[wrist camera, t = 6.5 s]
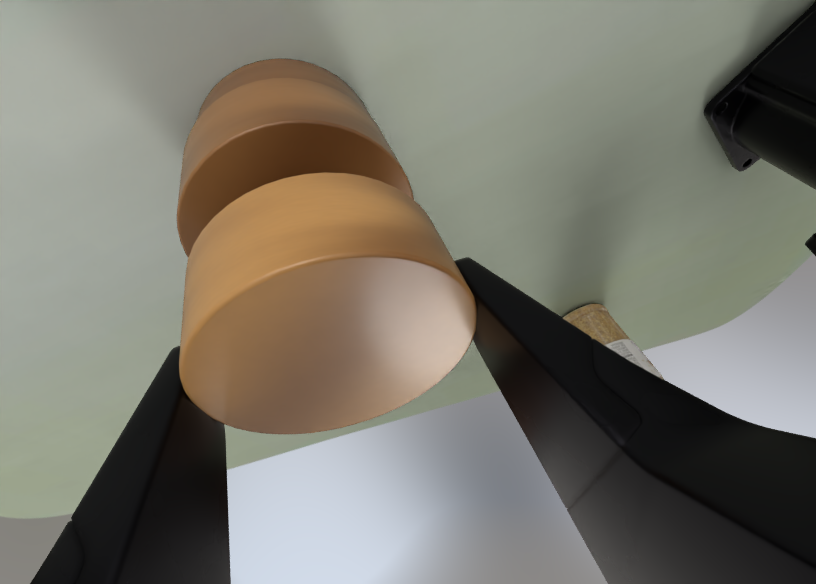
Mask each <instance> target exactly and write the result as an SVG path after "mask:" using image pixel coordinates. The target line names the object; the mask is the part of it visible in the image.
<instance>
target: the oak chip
mask: <svg viewBox="0 0 816 584" xmlns="http://www.w3.org/2000/svg"><path fill="white" fill-rule="evenodd" d="M476 319H477V308H476V302H475V299H474V296H473V294H472V292H471V290H470V288H469V287H468V285H467V283H466V281H465V280H464V278H463V276H462V274H461V273H460V271H459V269H458V267H457V265H456V264H455V262H454V260H453V258H452V257H451V255H450V253H449V251H448V250H447V248H446V246H445V244H444V242H443V241H442V239H441V237H440V235H439V234H438V232H437V230H436V228H435V227H434V225H433V223H432V221H431V219H430V218H429V216H428V215H427V213H426V212H425V211H424V210H423V209H422V207H421V206H420V205H419V204H418V203H417V202H415V201H414V200H413V199H412V198H411V197H410V196H408V195H407V194H405V193H404V192H402V191H400V190H399V189H397V188H395V187H393V186H391V185H388V184H386V183H384V182H382V181H379V180H375V179H372V178H368V177H365V176H360V175H354V174H347V173H328V172H323V173H312V174H302V175H298V176H293V177H288V178H283V179H280V180H277V181H274V182H271V183H268V184H265V185H263V186H260V187H258V188H256V189H254V190H252V191H250V192H248V193H246V194H244V195H242V196H241V197H239V198H238V199H236V200H235V201H233V202H232V203H230V204H229V205H227V206H226V207H225V208H224V209H223V210H222V211H220V212H219V213H218V214H217V215H216V216H215V217H214V218H213V219H212V220H211V221H210V222H209V223H208V224H207V226H206V227H205V228H204V229H203V230H202V232H201V233H200V235H199V237H198V238H197V240H196V242H195V243H194V245H193V248H192V250H191V253H190V255H189V258H188V263H187V269H186V278H185V291H184V304H183V317H182V330H181V344H180V357H179V373H180V379H181V382H182V385H183V388H184V390H185V392H186V394H187V395H188V397H189V398H190V400H191V401H192V402H193V403H194V404H195V405H196V406H197V407H199V408H200V409H201V410H202V411H203V412H205V413H206V414H207V415H208V416H210V417H211V418H213V419H215V420H217V421H219V422H221V423H223V424H226V425H228V426H231V427H234V428H238V429H242V430H246V431H251V432H258V433H266V434H303V433H314V432H321V431H327V430H332V429H337V428H342V427H346V426H350V425H354V424H357V423H360V422H364V421H367V420H370V419H373V418H375V417H378V416H380V415H383V414H385V413H388V412H390V411H392V410H394V409H397V408H399V407H401V406H402V405H404V404H406V403H408V402H410V401H412V400H413V399H415V398H417V397H418V396H420V395H422V394H423V393H425V392H426V391H428V390H429V389H430V388H432V387H433V386H434V385H436V384H437V383H438V382H439V381H441V380H442V379H443V378H444V377H445V376H446V375H447V374H448V373H449V372H450V371H451V370H452V369H453V368H454V367H455V366H456V365H457V364H458V362H459V361H460V360H461V359H462V357H463V356H464V354H465V353H466V351H467V350H468V348H469V346H470V344H471V342H472V340H473V337H474V334H475V331H476Z"/></svg>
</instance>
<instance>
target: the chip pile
mask: <svg viewBox="0 0 816 584" xmlns="http://www.w3.org/2000/svg"><path fill="white" fill-rule="evenodd" d="M323 172H328V173H347V174H354V175H360V176H365V177H368V178H372V179H375V180H379V181H382V182H384V183H386V184H388V185H391V186H393V187H395V188H397V189H399V190H400V191H402V192H404V193H405V194H407V195H408V196H410V197H411V198H412V199H413V200H414V198H413V193H412V189H411V186H410V183H409V181H408V178H407V176H406V174H405V172H404V171H403V169H402V167H401V165H400V164H399V162H398V160H397V158H396V157H395V155H394V153H393V151H392V150H391V148H390V146H389V144H388V143H387V141H386V139H385V138H384V136H383V134H382V132H381V131H380V129H379V127H378V125H377V124H376V123H375V121H374V120H373V119H372V117H371V116H370V115H369V113H368V111H367V109H366V108H365V106H364V104H363V102H362V101H361V99H360V98H359V97H358V96H357V94H356V93H355V92H354V91H353V90H352V89H351V88H350V87H349V86H348V85H347V84H346V83H345V82H344V81H343V80H341V79H340V78H339V77H337V76H336V75H334V74H333V73H331V72H329V71H327V70H326V69H323V68H321V67H319V66H316V65H314V64H311V63H307V62H303V61H299V60H292V59H269V60H263V61H257V62H254V63H251V64H248V65H245V66H243V67H241V68H239V69H237V70H235V71H233V72H232V73H230V74H229V75H227V76H226V77H224V78H223V79H222V80H221V81H220V82H219V83H218V84H217V85H216V86H215V87H214V88H213V89H212V90H211V92H210V93H209V94H208V96H207V97H206V99H205V101H204V103H203V105H202V107H201V108H200V112H199V115H198V118H197V121H196V123H195V124H194V126H193V128H192V130H191V132H190V134H189V136H188V139H187V142H186V145H185V148H184V154H183V162H182V171H181V180H180V190H179V199H178V208H177V228H178V233H179V237H180V241H181V244H182V246H183V248H184V251H185V253H186V255H187V256H188V258H189V255H190V253H191V250H192V248H193V245H194V243H195V242H196V240H197V238H198V237H199V235H200V233H201V232H202V230H203V229H204V228H205V227H206V226H207V224H208V223H209V222H210V221H211V220H212V219H213V218H214V217H215V216H216V215H217V214H218V213H219V212H220V211H222V210H223V209H224V208H225V207H226V206H227V205H229V204H230V203H232V202H233V201H235V200H236V199H238V198H239V197H241V196H242V195H244V194H246V193H248V192H250V191H252V190H254V189H256V188H258V187H260V186H263V185H265V184H268V183H271V182H274V181H277V180H280V179H283V178H288V177H293V176H298V175H302V174H312V173H323Z"/></svg>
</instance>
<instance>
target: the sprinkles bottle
mask: <svg viewBox="0 0 816 584" xmlns="http://www.w3.org/2000/svg"><path fill="white" fill-rule="evenodd" d="M563 319H565V320H566V321H568V322H569V323H571V324H572V325H574V326H576V327H577V328H579V329H580V330H582V331H583V332H585V333H586V334H588V335H589V336H591V338H592V339H596V340H597V341H599V342H600V343H602V344H603V345H605V346H607V347H608V348H610V349H611V350H613V351H615V352H616V353H618V354H619V355H621V356H623V357H624V358H626V359H627V360H629V361H631V362H632V363H634V364H636V365H638V366H640V367H641V368H643V369H645V370H647V371H649V372H650V373H652V374H654V375H656V376H658V377H659V378H661V379H663V377H662V375H661V374H660V373H659V372H658V370H657V369H656V368H655V367H654V366H653V364H652V363H651V362H650V361H649V360H648V358H647V357H646V356H645V355H644V354H643V352H642V351H641V350H640V349H639V348H638V346H637V345H636V344H635V343H634V342H633V341H632V340H630V339H629V337H628V336H627V335H626V334H625V333H624V331H623V330H622V329H621V328H620V326H619V325H618V324H617V323H616V322H615V321H614V319H613V318H612V317H611V316H610V314H609V312H608V310H607V309H606V307H604V306H603V305H601V304H589V305H586V306H583V307H581V308H578V309H576V310H574V311H572V312H570V313H569V314H567V315H566V316H564V317H563ZM663 380H664V379H663Z"/></svg>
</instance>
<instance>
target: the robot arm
mask: <svg viewBox="0 0 816 584" xmlns="http://www.w3.org/2000/svg"><path fill="white" fill-rule="evenodd" d="M704 115H705V117H706V119H707V121H708V123H709V124H710V126H711V128H712V130H713V132H714V134H715V136H716V137H717V139H718V141H719V143H720V145H721V147H722V148H723V150H724V152H725V154H726V156H727V158H728V160H729V161H730V163H731V165H732V167H734V168H735V169H737V170H738V171H744V170H746V169H747V168H749V167H750V166H751V165H753V164H754V163H755V162H756V161H757V160H759V159H760V158H762V159H764V160H765V161H767V162H769V163H770V164H772V165H774V166H776V167H777V168H779V169H781V170H783V171H784V172H786V173H788V174H790V175H791V176H793V177H795V178H797V179H798V180H800V181H802V182H804V183H805V184H807V185H809V186H810V187H812V188H814V189H816V2H815V3H814V4H813V5H812V6H811V7H810V8H809V9H808V10H807V11H806V12H805V13H804V14H803V15H802V16H800V17H799V18H798V19H797V20H796V21H795V22H794V23H793V24H792V25H791V26H790V27H789V28H788V29H787V30H785V31H784V32H783V33H782V34H781V35H780V36H779V37H778V38H777V39H776V40H775V41H774V42H773V43H772V44H771V45H769V46H768V47H767V48H766V49H765V50H764V51H763V52H762V53H761V54H760V55H759V56H758V57H757V58H756V59H754V60H753V61H752V62H751V63H750V64H749V65H748V66H747V67H746V68H745V69H744V70H743V71H742V72H741V73H740V74H738V75H737V76H736V77H735V78H734V79H733V80H732V81H731V82H730V83H729V84H728V85H727V86H726V87H725V88H724V89H722V90H721V91H720V92H719V93H718V94H717V95H716V96H715V97H714V98H713V99H712V100H711V101H710V102H709V103H708V104H707V106H706V108H705V110H704ZM805 245H806V246H807V247H808V248H809V249H810V250H811V252H812V253H813V254H814V255H815V256H816V233H815V234H813V235H812V236H811V237H810V238H809V239H808V240H807V241H806V243H805ZM454 262H455V264H456V265H457V267H458V269H459V271H460V273H461V274H462V276H463V278H464V280H465V281H466V283H467V285H468V287H469V288H470V290H471V292H472V294H473V296H474V299H475V302H476V308H477V319H476V331H475V334H474V337H473V340H474V343H475V345H476V347H477V349H478V351H479V353H480V355H481V356H482V358H483V360H484V362H485V364H486V365H487V367H488V369H489V371H490V373H491V374H492V376H493V378H494V380H495V381H496V383H497V385H498V387H499V389H500V390H501V392H502V394H503V396H504V398H505V399H506V401H507V403H508V405H509V407H510V408H511V410H512V412H513V414H514V416H515V417H516V419H517V421H518V422H519V424H520V426H521V428H522V430H523V432H524V433H525V435H526V437H527V439H528V441H529V442H530V444H531V446H532V448H533V450H534V451H535V453H536V455H537V457H538V459H539V460H540V462H541V464H542V466H543V468H544V469H545V471H546V473H547V475H548V476H549V478H550V480H551V482H552V484H553V485H554V487H555V489H556V491H557V493H558V494H559V496H560V498H561V500H562V502H563V503H564V505H565V507H566V508H568V509H567V511H568V512H569V514H570V516H571V518H572V520H573V521H574V523H575V525H576V527H577V529H578V531H579V532H580V534H581V536H582V538H583V540H584V541H585V543H586V545H587V547H588V549H589V550H590V552H591V554H592V556H593V558H594V559H595V561H596V563H597V565H598V566H599V568H600V570H601V572H602V574H603V575H604V577H605V579H606V581H607V582H608V584H816V438H811V437H807V436H802V435H798V434H793V433H789V432H784V431H779V430H775V429H771V428H766V427H763V426H759V425H756V424H753V423H750V422H747V421H745V420H742V419H739V418H737V417H735V416H732V415H730V414H728V413H726V412H724V411H722V410H720V409H718V408H716V407H714V406H712V405H710V404H708V403H707V402H705V401H703V400H701V399H699V398H697V397H695V396H693V395H691V394H690V393H688V392H686V391H684V390H682V389H680V388H678V387H676V386H674V385H673V384H671V383H669V382H667V381H665V380H663V379H661V378H659V377H658V376H656V375H654V374H652V373H650V372H649V371H647V370H645V369H643V368H641V367H640V366H638V365H636V364H634V363H632V362H631V361H629V360H627V359H626V358H624V357H623V356H621V355H619V354H618V353H616V352H615V351H613V350H611V349H610V348H608V347H607V346H605V345H603V344H602V343H600V342H599V341H597V340H596V339H592V338H591V336H589V335H588V334H586V333H585V332H583V331H582V330H580V329H579V328H577V327H576V326H574V325H572V324H571V323H569V322H568V321H566V320H565V319H563V318H562V317H560V316H559V315H557V314H556V313H554V312H552V311H551V310H549V309H548V308H546V307H545V306H543V305H542V304H540V303H539V302H537V301H536V300H534V299H532V298H531V297H529V296H528V295H526V294H525V293H523V292H522V291H520V290H519V289H517V288H516V287H514V286H512V285H511V284H509V283H508V282H506V281H505V280H503V279H502V278H500V277H499V276H497V275H496V274H494V273H492V272H491V271H489V270H488V269H486V268H485V267H483V266H482V265H480V264H479V263H477V262H475V261H474V260H472V259H471V258H468V257H466V258H463V259H459V260H456V261H454ZM179 357H180V346H178V347H175V348H173V349H172V350H171V352H170V353H169V355H168V357H167V358H166V360H165V362H164V363H163V365H162V367H161V368H160V370H159V372H158V373H157V375H156V377H155V378H154V380H153V382H152V383H151V385H150V387H149V388H148V390H147V392H146V393H145V395H144V397H143V398H142V400H141V402H140V403H139V405H138V407H137V408H136V410H135V412H134V413H133V415H132V417H131V418H130V420H129V422H128V423H127V425H126V427H125V428H124V430H123V432H122V433H121V435H120V437H119V438H118V440H117V442H116V443H115V445H114V447H113V448H112V450H111V452H110V453H109V455H108V457H107V458H106V460H105V462H104V463H103V465H102V467H101V468H100V470H99V472H98V473H97V475H96V477H95V478H94V480H93V482H92V484H91V485H90V487H89V489H88V490H87V492H86V494H85V495H84V497H83V499H82V500H81V502H80V504H79V505H78V507H77V509H76V510H75V512H74V514H73V515H72V517H71V519H72V521H70V522H68V523H67V525H66V527H65V529H64V530H63V532H62V533H61V535H60V537H59V538H58V540H57V542H56V543H55V545H54V547H53V548H52V550H51V551H50V553H49V555H48V556H47V558H46V560H45V561H44V563H43V564H42V566H41V567H40V569H39V571H38V572H37V574H36V575H35V577H34V579H33V580H32V582H31V583H30V584H231V580H230V552H229V528H228V527H229V525H228V496H227V468H226V440H225V428H224V424H223V423H221V422H219V421H217V420H215V419H213V418H211V417H210V416H208V415H207V414H206V413H205V412H203V411H202V410H201V409H200V408H199V407H197V406H196V405H195V404H194V403H193V402H192V401H191V400H190V398H189V397H188V395H187V394H186V392H185V390H184V388H183V385H182V382H181V379H180V373H179Z"/></svg>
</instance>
